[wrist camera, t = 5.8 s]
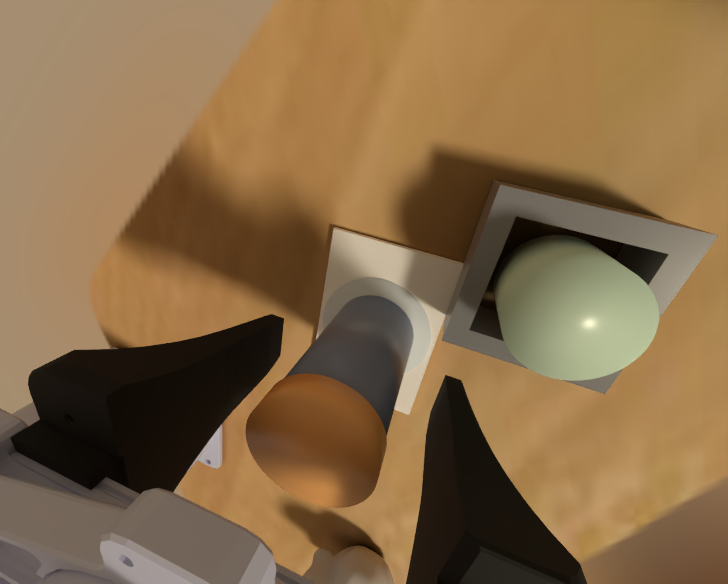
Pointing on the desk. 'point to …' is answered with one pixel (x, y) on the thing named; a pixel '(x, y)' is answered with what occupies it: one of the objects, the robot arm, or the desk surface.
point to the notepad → (392, 292)
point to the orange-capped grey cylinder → (335, 407)
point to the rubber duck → (349, 567)
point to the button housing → (637, 231)
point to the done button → (572, 309)
